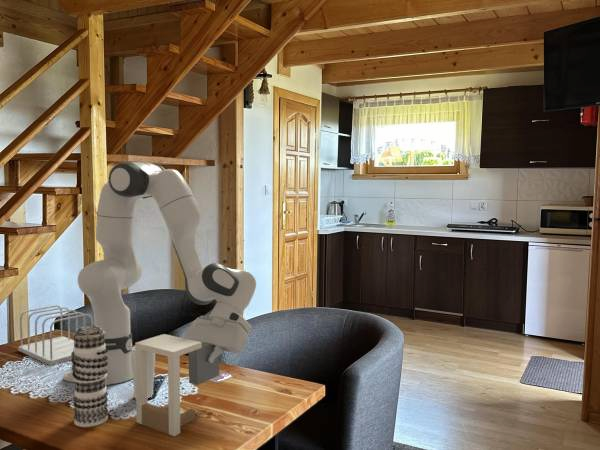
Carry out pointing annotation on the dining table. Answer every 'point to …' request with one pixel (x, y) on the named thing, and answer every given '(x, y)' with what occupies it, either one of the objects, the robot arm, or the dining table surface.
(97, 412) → the decorative candle
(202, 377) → the slate tile
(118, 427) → the dining table surface
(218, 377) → the mobile phone
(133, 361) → the drinking glass
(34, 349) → the file sorter
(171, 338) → the shelf
